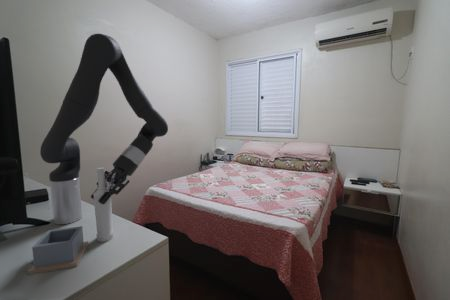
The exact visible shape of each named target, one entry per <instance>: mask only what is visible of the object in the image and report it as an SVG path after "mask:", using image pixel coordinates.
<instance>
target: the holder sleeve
mask: <svg viewBox="0 0 450 300" xmlns="http://www.w3.org/2000/svg"><path fill="white" fill-rule="evenodd" d="M88 245H89V241H85V240H84V231H83V226H75V227H74V226H73V227H65V228H64V227H63V228H58V229H49V230H48V229H47V231H46V232H45V233H44V234H43V235H42V236H41V237H40V238H39V240H37V242H36V243H35V244H34V245H33V246H32V247H31V249H32V256H33V257H32V258H33V264H32V265H31V267H30V268H29V269H28V271H27V273H28V275H33V274H39V273H45V272H51V271H57V270H62V269H68V268H69V269H70V268H73V267H78V264H79V263H80V261H81V259H82V257H83V255H84V253H85V252H86V250H87V247H88Z"/></svg>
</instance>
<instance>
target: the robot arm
mask: <svg viewBox="0 0 450 300" xmlns="http://www.w3.org/2000/svg"><path fill="white" fill-rule="evenodd" d="M130 68H131V67H130V66H129V64H128V62H127V60H126V57H125V55H124V53H123V50H122V49H121V46H120V44H119V42H118V41H117V40H116V39H114V38H113V37H112V36H109V35H106V34H102V33H93V34H91V35H89V37H87V39H86V41H85V42H84V46H83V50H82V54H81V57H80V62H79V65H78V68H77V70H76V72H75V74H74V77H73V78H72V81H71V83H70V84H69V87H68V89H67V91H66V93H65V96H64V98H63V101H62V104H61V105H60V109H59V111H58V113H57V115H56V118H55V120H54V122H53V124H52V126H51V128H50V129H49V131H48V133H47V134H46V135H45V137H44V139H43V141H42V142H41V143H42V144H41V145H40V150H39V151H40V157H41V159H42V160H43V162H45V163H47V164H58V166H57V167H56V168H55V169H54V170H52V171H51V172H49V173H48V174H49V175H48V177H49V188H50V197H51V207H52V214H53V215H52V216H53V223H54V224H56V225H68V224H71V223H75V222H77V221H79V220H80V219H82V218H83V210H82V199H81V190H80V189H81V187H80V174H79V173H80V172H81V150H80V145H79V143H78V141H77V140H76V139H74V138H72V137H71V135H72V134H73V133H74V132H75V131H77V130H78V129H79V128H81V126H82V125H84V124H86V122H87V121H88V120H89V119H90V118H91V116H92V115H93V112H94V110H95V109H96V106H97V104H98V101H99V96H100V88H101V83H102V80H103V78H104V77H105V74H106V72H107V71H108V70H109V71H110V72H111V74H112V75H113V76H114V78H115V79H116V81H117V83H118V85H119V87H120V89H121V92H122V94H123V96H124V98H125V100H126V102H127V104H128V105H129V107H130V108H131V109H132V111H133V112H134V114H135V115H136V117H137V118H139V119H142V120H144V122H145V123H144V124H143V126H142V127H141V128H140V130H139V132H138V134H137V136H136V137H135V138H134V139H133V140H132V141H131V143H130V144H129V145H128V146H127V147H126V148H125V149H124V150H123V151H122V152H121V154H120V155H119V156H118V157H117V158H116V159H115V160H114V162H113V163H112V166H113V169H112V170H111V171H108V170H104V176H105V187H106V188H107V192H105V193H104V194H103V195H102V197H101V198H100V199H99V200H98V202H99V203H101V204H105V203H106V202H107V200H108V199H109V198H110V197H111V198H112V196H114V195H116V196H117V195H119V194H120V192H122V190H123V189H125V187H127V186H128V185H129V183H130V180H129V179H128V177H132V176H133V175H134V173H135V172H136V170H137V169H138V168H139V166H140V165H141V164H142V163H143V161H144V159H145V157H146V156H147V155H148V154H149V152H150V151H152V148H153V146H154V144H153V141H154V140H155V139H156V138H159V137H163V136H165V135H167V133H168V130H169V127H168V126H169V125H168V124H167V121H166V119H165V118H164V117H163V116H162V115H161V114H160V113H159V112H158V111H157V110H156V109H155V108H154V107H153V104H152V102H150V100H149V98H148V96H147V95H146V93H145V92H144V90H143V89H142V87H141V86H140V84H139V82H138V81H137V79H136V77H135V75H134V74H133V72H132V70H131V69H130ZM96 185H97V188H98V181H97V182H96ZM97 188H96V189H95V191H94V192H93V193H95V192H96V191H97ZM93 193H92V194H91V196H90V198H91V199H93V200H94V195H93Z"/></svg>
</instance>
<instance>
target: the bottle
mask: <svg viewBox="0 0 450 300" xmlns="http://www.w3.org/2000/svg"><path fill="white" fill-rule="evenodd" d="M96 170H97V171H96V173H97V182H98V185H97V186H98V187H97V188H96V189H97V191H96V192H95V191H94V192H95V193H94V192H93V193H92V194H93V195H94V199H93V202H94V203H93V204H94V215H95V223H96V232H97V233H96V240H97V241H98V242H100V243H101V242H102V243H104V242H108V241H110V240H111V239H113V238H114V230H113V212H112V211H113V210H112V207H113V205H112V196H111V197H110V198H109V199H108V200H107V202H106V203H105V204H101V203H99V202H98V200H99V199H100V198H101V197H102V195H103V194H104V193H105V192H107V189H108V188H106V187H105V186H106V185H105V176H104V172H105V167H97V168H96Z"/></svg>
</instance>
